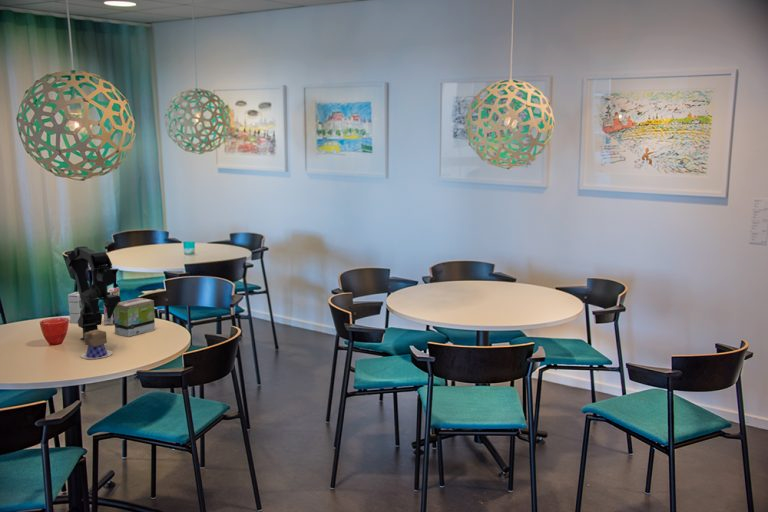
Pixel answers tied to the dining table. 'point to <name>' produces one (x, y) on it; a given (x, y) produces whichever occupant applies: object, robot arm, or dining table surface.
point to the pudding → (96, 352)
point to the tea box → (134, 317)
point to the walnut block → (95, 338)
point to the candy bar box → (112, 320)
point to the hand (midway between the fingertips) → (102, 317)
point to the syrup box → (74, 307)
